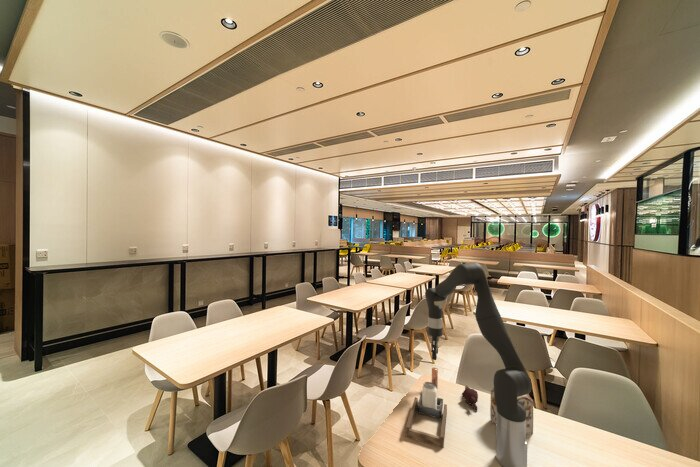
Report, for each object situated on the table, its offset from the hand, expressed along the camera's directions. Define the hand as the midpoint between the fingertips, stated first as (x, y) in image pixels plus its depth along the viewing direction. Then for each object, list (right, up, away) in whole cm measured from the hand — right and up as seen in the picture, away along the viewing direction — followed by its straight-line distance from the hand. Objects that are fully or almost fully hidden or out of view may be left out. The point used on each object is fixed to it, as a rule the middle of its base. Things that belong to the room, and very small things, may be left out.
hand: (435, 356), depth 146 cm
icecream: (+14, -18, -12) cm, 25 cm away
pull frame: (-5, -17, -11) cm, 20 cm away
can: (-8, -17, -19) cm, 27 cm away
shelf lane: (-12, -17, -28) cm, 35 cm away
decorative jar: (+24, -18, -28) cm, 41 cm away
